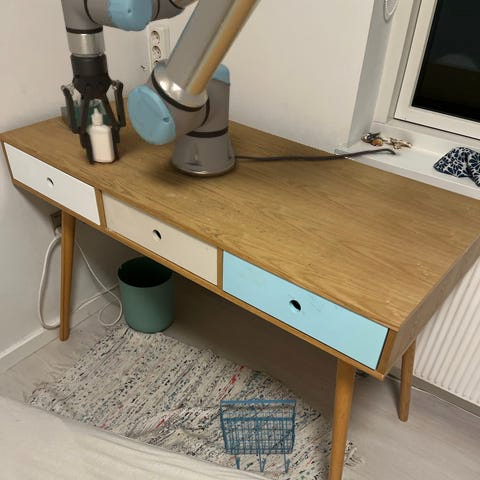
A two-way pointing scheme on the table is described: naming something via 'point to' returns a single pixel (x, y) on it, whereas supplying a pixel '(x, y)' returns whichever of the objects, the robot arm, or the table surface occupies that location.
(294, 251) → the table surface
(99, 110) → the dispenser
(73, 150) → the table surface
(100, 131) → the eye dropper bottle
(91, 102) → the pale grey short cylinder
